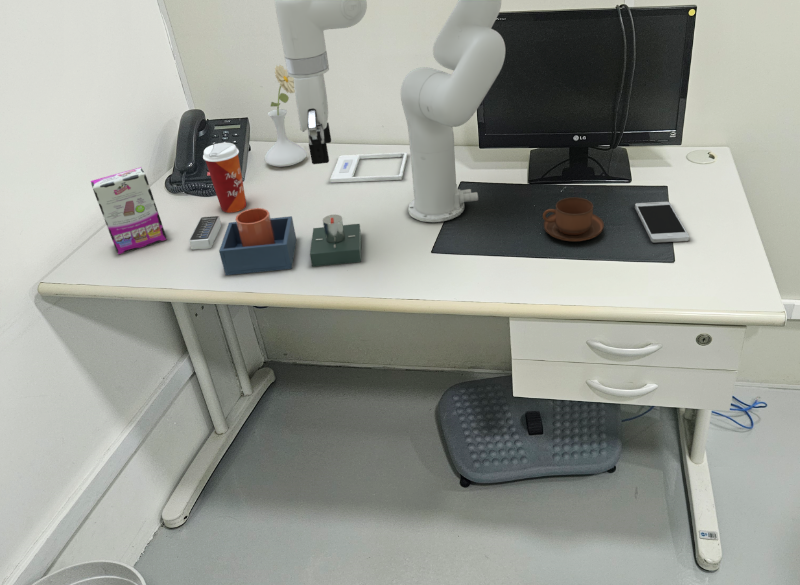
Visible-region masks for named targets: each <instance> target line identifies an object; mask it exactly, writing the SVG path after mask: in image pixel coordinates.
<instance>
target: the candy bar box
mask: <svg viewBox="0 0 800 585" xmlns="http://www.w3.org/2000/svg"><path fill="white" fill-rule="evenodd" d="M90 184H91V188H92V190H93V194H94V196H95V199H96V201H97V204H98V206H99V209H100V212H101V214H102V217H103V220H104V222H105V225H106V228H107V230H108V233H109V235H110V238H111V241H112V243H113V246H114V250H115V251H116V254H117V255H123V254H125V253H129V252H132V251H136V250H139V249H142V248H145V247H148V246H151V245H154V244H158V243H160V242H161V243H162V242H164V241H167V240H168V239H167V235H166V232H165V229H164V225H163V223H162V220H161V217H160V214H159V211H158V207H157V205H156V202H155V198H154V195H153V192H152V190H151V186H150V183H149V180H148V177H147V175H146V173H145V171H144V169H143V168H142V166H140V167H137V168H136V167H135V168H132V169H129V170H124V171H122V172H118V173H115V174H110V175H107V176H103V177H100V178H96V179H92V180H90Z"/></svg>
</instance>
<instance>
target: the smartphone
mask: <svg viewBox="0 0 800 585" xmlns="http://www.w3.org/2000/svg"><path fill="white" fill-rule="evenodd" d="M634 209H635V211H636V213H637V215H638V218H639V219H640V221H641V224H642V225H643V227H644V229H645V231H646V233H647V236H648V237H649V240H650V242H651V243H655V244H656V243H672V242H688V241H689V240H690V235H689V233H688V232H687V230H686V228H685V227H684V224H683V223H682V221H681V219H680V218H679V215H678V214H677V213H676V211H675V209H674V207H673V206H672V203H670V201H656V202H636V203H635V204H634Z"/></svg>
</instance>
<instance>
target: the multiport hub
mask: <svg viewBox="0 0 800 585" xmlns="http://www.w3.org/2000/svg"><path fill="white" fill-rule="evenodd" d="M221 227H222V222H221V217H220V215H215V216H213V215H212V216H201V217H200V218H199V220H198V222H197V224H196V226H195V228H194V230H193V232H192V233H191V236H190V237H189V240H188V241H189V245H190V249H191V250H194V251H195V250H196V251H197V250H207V249H211V248H213V245H214V243H215V241H216V239H217V236H218V234H219V232H220V230H221Z"/></svg>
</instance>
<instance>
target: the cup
mask: <svg viewBox="0 0 800 585" xmlns="http://www.w3.org/2000/svg"><path fill="white" fill-rule="evenodd" d="M271 218H272V217H271V214H270V212H269V210H268V209H266V208H263V207H255V208H249V209H245V210H242V211H241V212H239V213H238V214H237V215H236V216H235V222H236V224H237V228H238V232H239V236H240V240H241V244H242V247H247V246H257V245H267V244H276V241H275V237H274V232H273V227H272V223H271Z"/></svg>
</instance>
